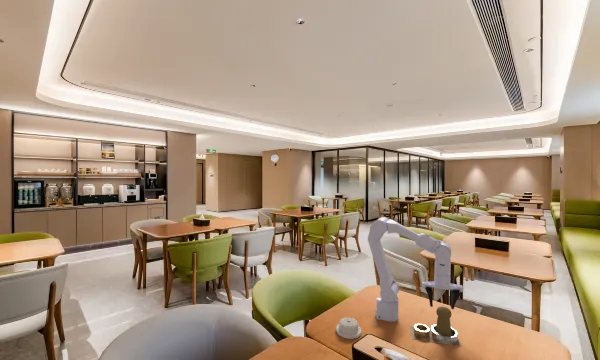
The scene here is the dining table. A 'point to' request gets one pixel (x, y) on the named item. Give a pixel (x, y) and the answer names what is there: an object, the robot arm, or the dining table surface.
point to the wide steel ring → (444, 339)
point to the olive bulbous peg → (443, 321)
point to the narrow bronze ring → (421, 330)
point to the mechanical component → (348, 328)
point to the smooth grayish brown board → (428, 338)
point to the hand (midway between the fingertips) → (441, 306)
